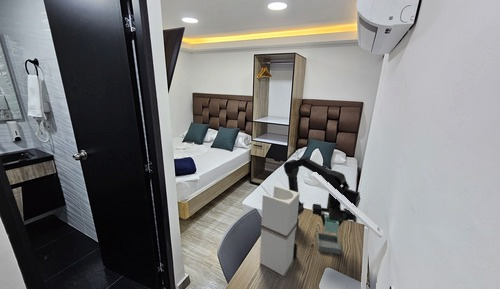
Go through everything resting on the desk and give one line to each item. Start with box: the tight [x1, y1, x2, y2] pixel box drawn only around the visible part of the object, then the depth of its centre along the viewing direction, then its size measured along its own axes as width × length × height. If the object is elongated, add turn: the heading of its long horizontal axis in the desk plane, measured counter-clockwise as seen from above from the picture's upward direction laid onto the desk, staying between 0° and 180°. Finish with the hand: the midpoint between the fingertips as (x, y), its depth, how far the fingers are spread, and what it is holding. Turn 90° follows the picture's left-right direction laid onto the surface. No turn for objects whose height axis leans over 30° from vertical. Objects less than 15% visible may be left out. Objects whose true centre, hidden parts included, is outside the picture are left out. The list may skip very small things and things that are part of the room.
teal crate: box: [323, 215, 340, 234], centre depth 100 cm, size 6×6×5 cm
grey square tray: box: [316, 231, 343, 255], centre depth 103 cm, size 10×10×3 cm
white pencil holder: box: [259, 185, 300, 280], centre depth 86 cm, size 11×11×35 cm
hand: (330, 226), depth 101 cm, fingers closed on teal crate, 6 cm apart
